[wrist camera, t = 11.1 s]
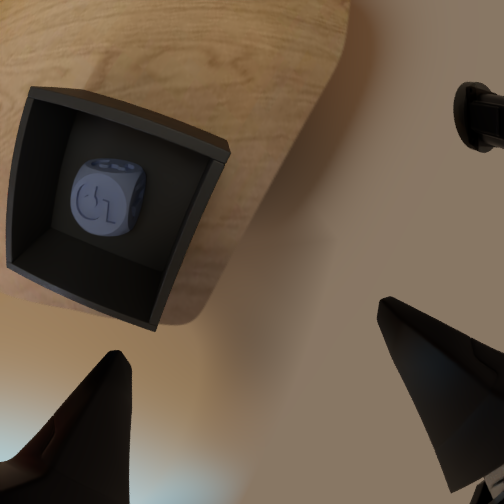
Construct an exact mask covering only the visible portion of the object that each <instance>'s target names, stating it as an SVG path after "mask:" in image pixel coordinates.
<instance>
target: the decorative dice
mask: <svg viewBox="0 0 504 504" xmlns="http://www.w3.org/2000/svg"><path fill="white" fill-rule="evenodd" d="M145 185H146V174H145V172H144V171H143V169H142V167H141V166H139V165H138V164H135V163H133V162H129V161H125V160H119V159H109V158H101V159H92V160H89V161H87V162H86V163H84V164H83V165H82V167H81V168H80V169H79V171H78V173H77V175H76V177H75V180H74V183H73V186H72V191H71V200H70V204H71V211H72V214H73V216H74V218H75V220H76V221H77V223H78V224H79V225H80V226H81V227H82V228H83V229H84V230H85V231H87V232H89V233H91V234H94V235H99V236H119V235H123V234H125V233H127V232H129V231H130V230H132V229H133V227H134V226H135V224H136V221H137V219H138V216H139V213H140V210H141V206H142V202H143V197H144V192H145Z"/></svg>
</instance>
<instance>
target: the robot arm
mask: <svg viewBox="0 0 504 504" xmlns="http://www.w3.org/2000/svg"><path fill="white" fill-rule="evenodd" d="M466 99H467V113H468V142H469V144H470V145H471V146H481V147H500V148H502V149H504V96H500V95H497V94H496V93H492V92H489V91H486V90H483V89H479V88H476V87H472V86H466ZM377 322H378V325H379V327H380V330H381V332H382V334H383V337H384V340H385V342H386V345H387V347H388V350H389V353H390V355H391V357H392V359H393V361H394V364H395V366H396V368H397V369H398V372H399V373H400V375H401V377H402V379H403V381H404V383H405V386H406V387H407V390H408V392H409V394H410V396H411V398H412V400H413V402H414V404H415V406H416V409H417V411H418V413H419V415H420V417H421V419H422V422H423V424H424V426H425V428H426V431H427V433H428V435H429V438H430V440H431V443H432V445H433V447H434V449H435V453H436V455H437V458H438V460H439V463H440V465H441V468H442V471H443V473H444V476H445V479H446V481H447V484H448V487H449V490H450V492H451V493H453V492H455V491H457V490H459V489H462V488H463V487H465V486H467V485H469V484H471V483H473V482H475V481H477V480H479V479H481V478H482V477H484V479H485V480H483V481H482V482H481V483H480V484H479V485H477V486H476V489H475V492H474V495H473V497H472V500H471V502H470V504H504V353H502V352H500V351H497V350H495V349H493V348H491V347H489V346H487V345H485V344H483V343H481V342H479V341H477V340H475V339H473V338H470V337H469V336H467V335H466V334H464V333H462V332H460V331H458V330H456V329H454V328H452V327H450V326H448V325H447V324H445V323H443V322H441V321H439V320H437V319H435V318H433V317H431V316H429V315H427V314H425V313H423V312H421V311H419V310H417V309H415V308H414V307H411V306H410V305H408V304H405V303H404V302H402V301H400V300H397V299H396V298H394V297H391V296H389V297H386V298H383V299H381V300H380V302H379V307H378V313H377ZM131 415H132V368H131V365H130V364H129V362H128V361H127V359H126V358H125V356H124V355H123V353H122V352H121V351H119V350H114V351H109V352H108V353H107V354H106V355H105V356H104V357H103V358H102V360H101V361H100V362H99V363H98V364H97V365H96V366H95V367H94V368H93V370H92V371H91V372H90V373H89V374H88V375H87V376H86V377H85V379H84V380H83V381H82V382H81V383H80V384H79V385H78V387H77V388H76V389H75V390H74V391H73V392H72V394H71V395H70V396H69V397H68V398H67V399H66V400H65V402H64V403H63V404H62V405H61V406H60V408H59V409H58V410H57V411H56V412H55V413H54V416H52V417H51V418H50V419H49V420H48V422H47V423H46V424H45V425H44V426H43V427H42V429H41V430H40V431H39V432H38V433H37V434H36V435H35V436H34V437H33V438H32V440H30V441H29V442H28V443H27V445H25V447H24V448H22V450H21V451H20V452H19V453H18V454H17V455H16V456H14V457H13V458H12V459H10V460H8V461H4V462H0V504H129V503H130V502H129V452H130V430H131Z"/></svg>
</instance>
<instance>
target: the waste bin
mask: <svg viewBox="0 0 504 504" xmlns="http://www.w3.org/2000/svg"><path fill="white" fill-rule="evenodd" d="M230 154H231V152H230V149H229V145H228V142H227V140H225V139H222V138H220V137H218V136H215V135H213V134H211V133H208V132H206V131H203V130H201V129H199V128H196V127H194V126H191V125H189V124H186V123H183V122H181V121H178V120H176V119H173V118H170V117H168V116H165V115H162V114H159V113H156V112H154V111H151V110H148V109H145V108H142V107H139V106H136V105H133V104H130V103H127V102H124V101H120V100H117V99H114V98H111V97H107V96H104V95H100V94H97V93H93V92H89V91H86V90H81V89H70V88H58V87H38V86H31V87H30V90H29V93H28V97H27V100H26V103H25V106H24V110H23V113H22V117H21V121H20V125H19V129H18V133H17V138H16V143H15V148H14V153H13V159H12V165H11V171H10V179H9V188H8V198H7V213H6V260H7V261H6V265H7V268H9V269H11V270H12V271H14V272H16V273H18V274H20V275H22V276H24V277H25V278H27V279H29V280H31V281H33V282H35V283H37V284H39V285H41V286H43V287H45V288H47V289H49V290H51V291H54V292H56V293H58V294H60V295H62V296H64V297H66V298H69V299H71V300H73V301H75V302H78V303H80V304H82V305H85V306H87V307H89V308H92V309H94V310H97V311H99V312H102V313H104V314H107V315H109V316H112V317H114V318H117V319H120V320H122V321H125V322H128V323H131V324H133V325H136V326H139V327H142V328H145V329H147V330H150V331H154V332H155V331H156V329H157V326H158V324H159V321H160V318H161V315H162V313H163V310H164V307H165V305H166V302H167V299H168V297H169V294H170V291H171V289H172V286H173V284H174V281H175V279H176V276H177V274H178V271H179V269H180V266H181V264H182V261H183V259H184V256H185V254H186V251H187V249H188V247H189V244H190V242H191V240H192V237H193V235H194V233H195V230H196V228H197V226H198V223H199V221H200V219H201V216H202V214H203V212H204V210H205V207H206V205H207V203H208V201H209V199H210V196H211V194H212V192H213V190H214V188H215V186H216V183H217V181H218V179H219V177H220V175H221V173H222V171H223V169H224V166H225V164H226V162H227V160H228V158H229V156H230ZM101 158H109V159H119V160H125V161H129V162H133V163H135V164H138V165H139V166H141V167H142V169H143V171H144V172H145V174H146V185H145V192H144V197H143V202H142V206H141V210H140V213H139V216H138V219H137V221H136V224H135V226H134V227H133V229H132V230H130V231H129V232H127V233H125V234H123V235H119V236H99V235H94V234H91V233H89V232H87V231H85V230H84V229H83V228H82V227H81V226H80V225H79V224H78V223H77V221H76V220H75V218H74V216H73V214H72V211H71V204H70V200H71V191H72V186H73V183H74V180H75V177H76V175H77V173H78V171H79V169H80V168H81V167H82V165H83V164H84V163H86V162H87V161H89V160H92V159H101Z"/></svg>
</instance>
